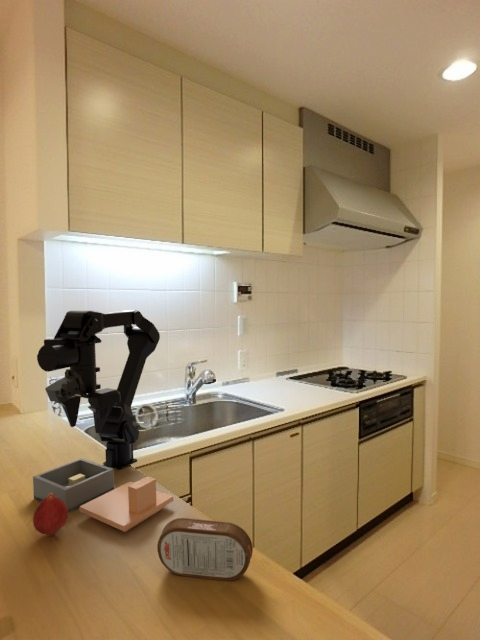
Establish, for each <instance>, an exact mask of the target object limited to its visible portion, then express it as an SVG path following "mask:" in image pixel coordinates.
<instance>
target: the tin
mask: <svg viewBox="0 0 480 640" xmlns="http://www.w3.org/2000/svg"><path fill="white" fill-rule="evenodd" d="M163 527H164V528H163V529H162V532H161V534H160V536H159V539H158V541H157V546H156V547H157V549H156V550H157V554H158V557H159V560H160V562H161V563H162V565H163V567H164V568H166V569H167V570H168V571H169V572H171V573H173V574H175V575H177V576H182V577H192V578H198V579H199V578H200V579H208V580H209V579H210V580H215V581H216V580H218V581H224V582H226V581H228V582H230V581H234V580H237V579H239V578H240V577H242V576H244V575H245V573H246V571H247V570H248V569H249V566H250V563H251V559H252V556H253V551H254V549H253V543H252V539H251V538H250V536H249V534H248V533H247V531H245V529H243V528H242V527H241V526H239V525H238V524H236V523H232V522H229V521H219V520H210V519H198V518H189V517H179V518H175V519H172V520H170V521H168V523H167V524H166V525H165V526H163Z"/></svg>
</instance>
